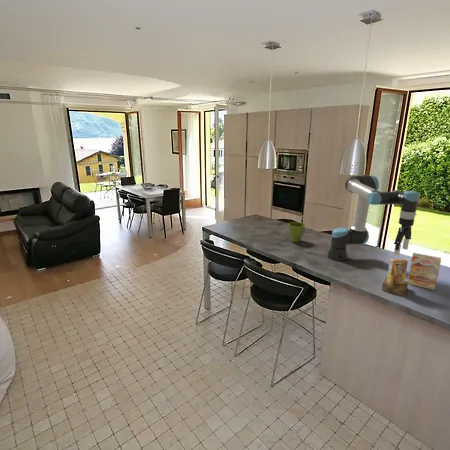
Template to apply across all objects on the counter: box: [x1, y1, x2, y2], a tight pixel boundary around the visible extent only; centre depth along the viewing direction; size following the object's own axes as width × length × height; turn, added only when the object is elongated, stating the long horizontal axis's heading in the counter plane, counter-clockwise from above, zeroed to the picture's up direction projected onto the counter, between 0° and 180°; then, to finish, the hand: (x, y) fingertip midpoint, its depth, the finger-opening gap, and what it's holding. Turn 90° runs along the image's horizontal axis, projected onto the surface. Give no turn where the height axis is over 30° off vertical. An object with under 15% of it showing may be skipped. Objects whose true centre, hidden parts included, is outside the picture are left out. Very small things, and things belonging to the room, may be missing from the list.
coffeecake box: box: [407, 252, 442, 291], centre depth 192 cm, size 15×7×20 cm, turn 56°
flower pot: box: [287, 221, 306, 243], centre depth 273 cm, size 15×15×16 cm
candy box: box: [386, 258, 409, 284], centre depth 185 cm, size 9×4×15 cm, turn 89°
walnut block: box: [381, 277, 409, 297], centre depth 188 cm, size 12×12×5 cm
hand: (400, 251), depth 182 cm, fingers open, 13 cm apart
